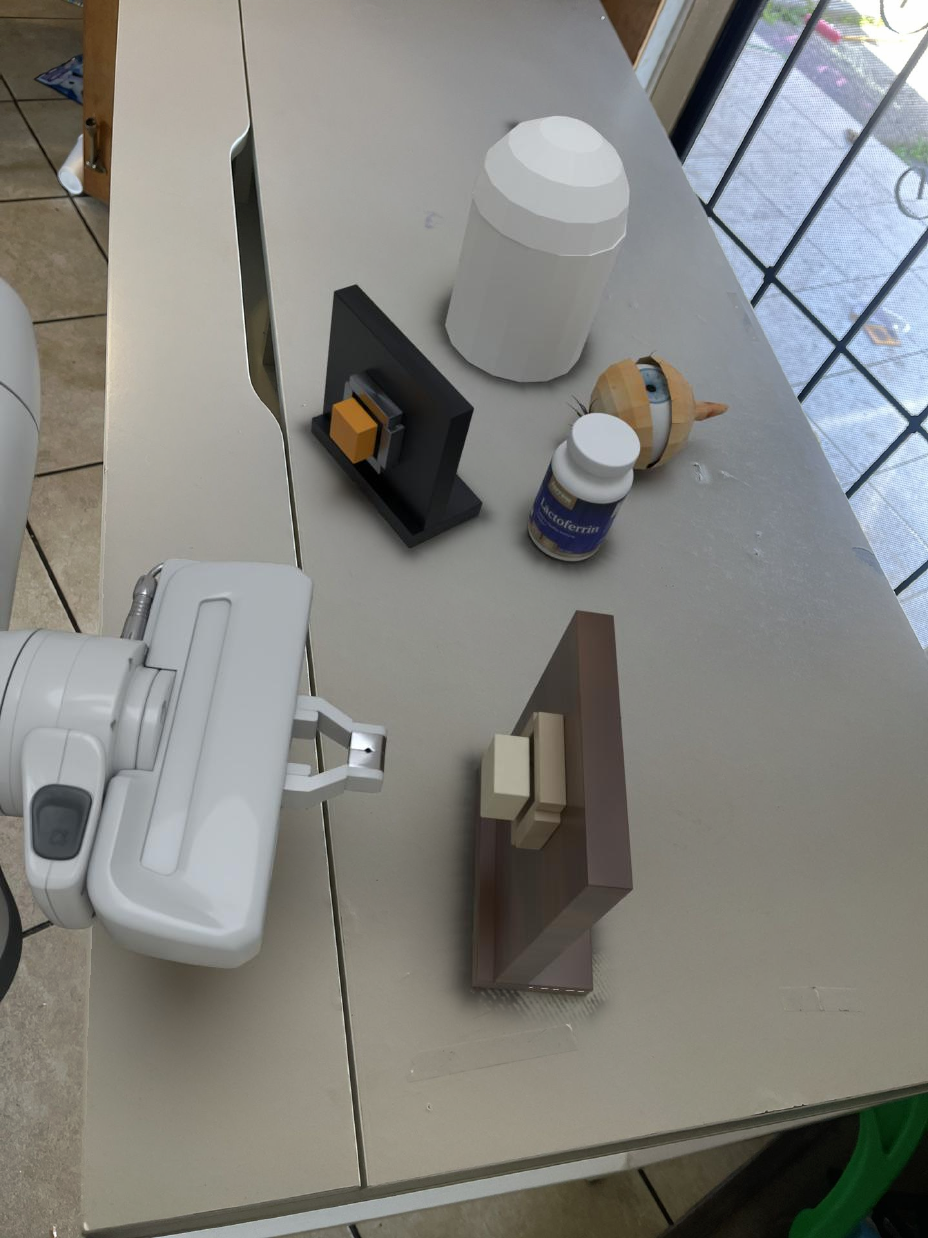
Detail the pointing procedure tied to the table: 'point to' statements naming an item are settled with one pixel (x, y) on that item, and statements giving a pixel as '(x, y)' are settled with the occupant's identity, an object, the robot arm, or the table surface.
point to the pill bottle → (584, 487)
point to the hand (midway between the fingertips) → (384, 760)
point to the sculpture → (651, 406)
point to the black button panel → (397, 421)
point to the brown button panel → (557, 827)
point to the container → (538, 249)
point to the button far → (353, 430)
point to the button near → (505, 777)
